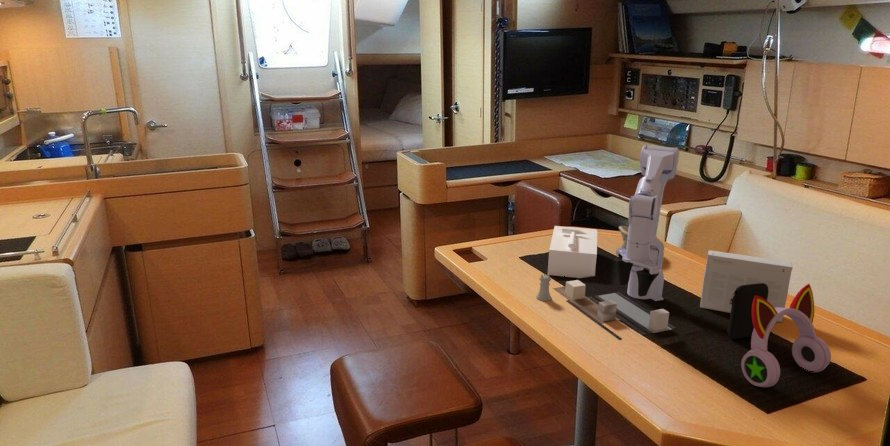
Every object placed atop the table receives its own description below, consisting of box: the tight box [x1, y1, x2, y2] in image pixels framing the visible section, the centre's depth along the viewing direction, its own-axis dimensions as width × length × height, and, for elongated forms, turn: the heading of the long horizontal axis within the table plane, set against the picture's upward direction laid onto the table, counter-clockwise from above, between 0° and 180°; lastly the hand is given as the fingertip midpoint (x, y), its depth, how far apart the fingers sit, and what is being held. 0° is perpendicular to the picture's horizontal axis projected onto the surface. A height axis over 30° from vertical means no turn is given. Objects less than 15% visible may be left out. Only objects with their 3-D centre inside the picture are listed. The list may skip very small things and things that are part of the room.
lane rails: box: [565, 291, 677, 341], centre depth 171 cm, size 18×24×1 cm
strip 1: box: [552, 285, 621, 325], centre depth 177 cm, size 6×24×6 cm, turn 22°
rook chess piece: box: [535, 273, 552, 302], centre depth 179 cm, size 4×4×8 cm
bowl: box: [618, 225, 658, 249], centre depth 217 cm, size 15×14×10 cm
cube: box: [565, 279, 587, 300], centre depth 181 cm, size 4×4×4 cm
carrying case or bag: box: [726, 283, 769, 340], centre depth 160 cm, size 11×3×15 cm, turn 106°
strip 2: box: [598, 292, 672, 334], centre depth 172 cm, size 6×24×6 cm, turn 22°
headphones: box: [740, 283, 832, 388], centre depth 142 cm, size 20×10×20 cm, turn 115°
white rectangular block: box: [547, 225, 598, 279], centre depth 208 cm, size 14×25×11 cm, turn 167°
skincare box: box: [699, 249, 793, 323], centre depth 175 cm, size 21×6×16 cm, turn 65°
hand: (632, 289), depth 166 cm, fingers open, 7 cm apart
